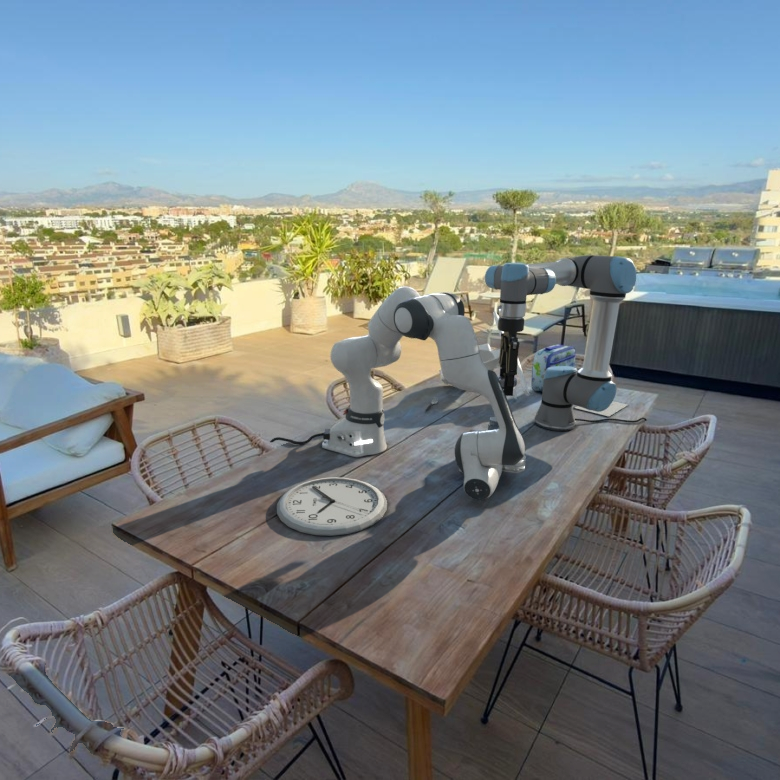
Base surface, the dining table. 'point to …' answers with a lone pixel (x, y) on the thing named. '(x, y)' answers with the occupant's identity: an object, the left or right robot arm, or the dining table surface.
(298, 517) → the wall clock
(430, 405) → the fork
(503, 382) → the lid
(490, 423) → the bottle
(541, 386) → the lunch box
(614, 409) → the invitation card
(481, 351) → the white plastic object
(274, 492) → the dining table surface
